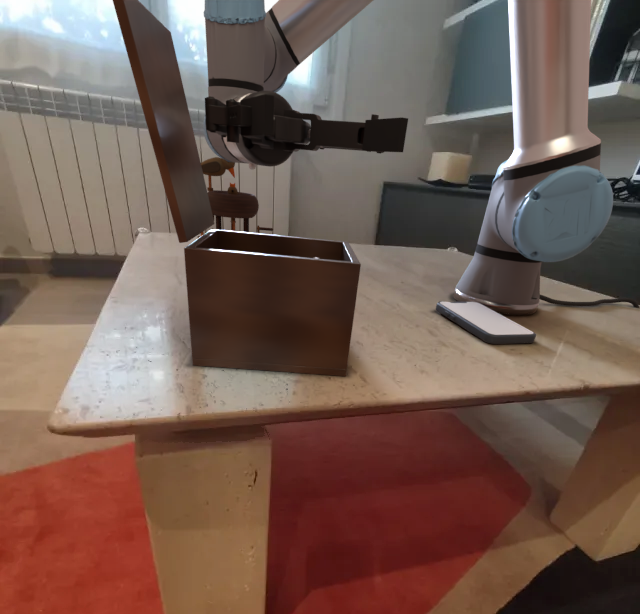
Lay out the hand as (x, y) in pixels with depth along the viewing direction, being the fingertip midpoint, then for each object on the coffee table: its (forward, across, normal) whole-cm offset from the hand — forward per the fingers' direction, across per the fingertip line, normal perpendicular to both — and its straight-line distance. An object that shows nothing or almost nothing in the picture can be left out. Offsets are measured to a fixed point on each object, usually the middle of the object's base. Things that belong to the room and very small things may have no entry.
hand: (341, 126), depth 38 cm
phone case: (-6, -32, -23) cm, 40 cm away
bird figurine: (-42, -2, -23) cm, 48 cm away
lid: (-9, +12, -2) cm, 16 cm away
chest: (-5, +4, -22) cm, 23 cm away
